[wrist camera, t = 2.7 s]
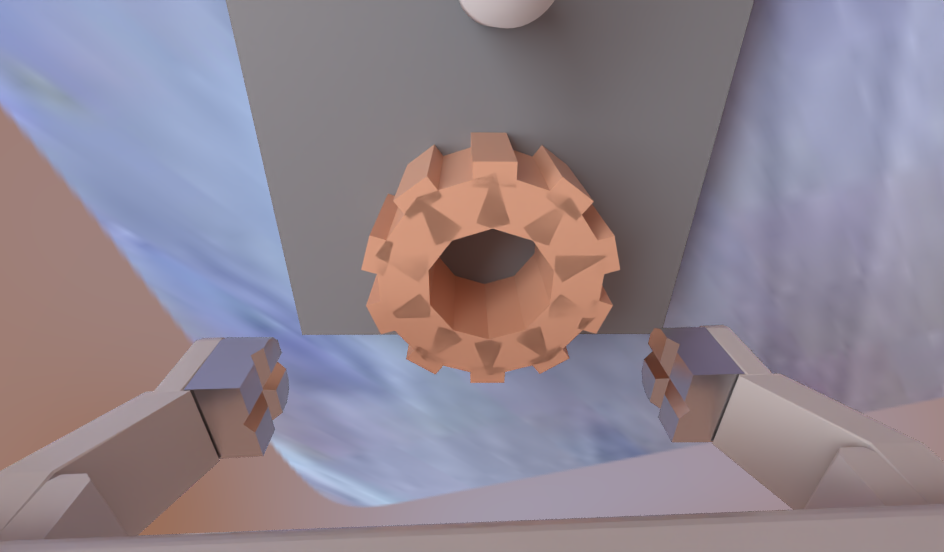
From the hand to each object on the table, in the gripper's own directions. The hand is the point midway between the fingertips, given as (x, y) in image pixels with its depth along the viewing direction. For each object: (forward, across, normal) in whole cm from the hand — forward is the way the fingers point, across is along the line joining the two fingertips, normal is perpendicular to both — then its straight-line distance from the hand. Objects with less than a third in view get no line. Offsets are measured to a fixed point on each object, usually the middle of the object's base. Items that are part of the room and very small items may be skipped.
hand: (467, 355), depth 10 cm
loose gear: (+5, -1, 0) cm, 5 cm away
